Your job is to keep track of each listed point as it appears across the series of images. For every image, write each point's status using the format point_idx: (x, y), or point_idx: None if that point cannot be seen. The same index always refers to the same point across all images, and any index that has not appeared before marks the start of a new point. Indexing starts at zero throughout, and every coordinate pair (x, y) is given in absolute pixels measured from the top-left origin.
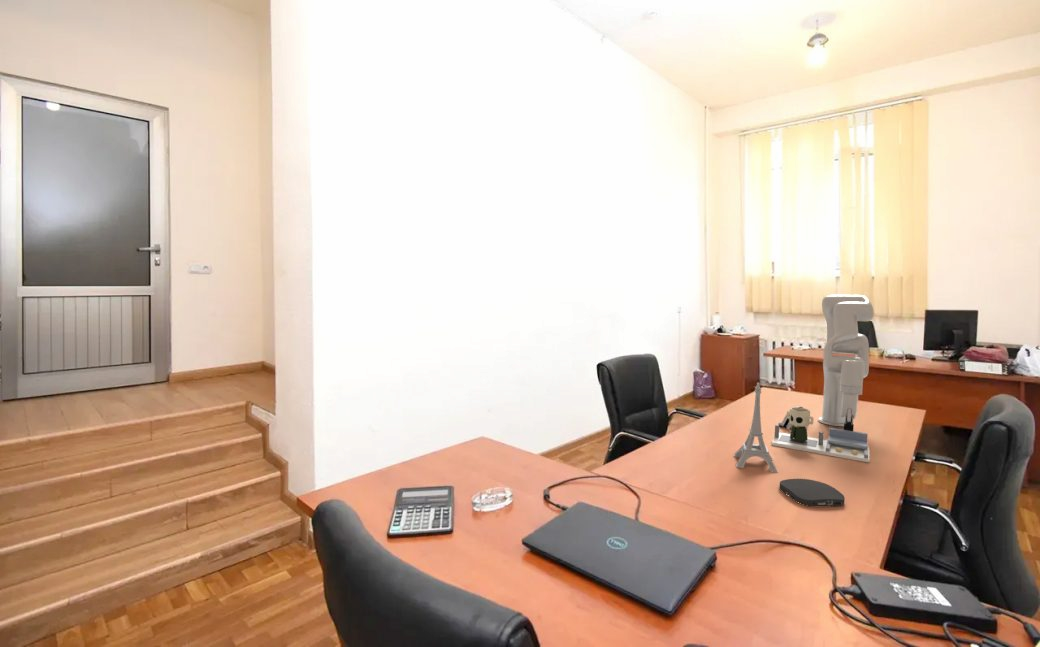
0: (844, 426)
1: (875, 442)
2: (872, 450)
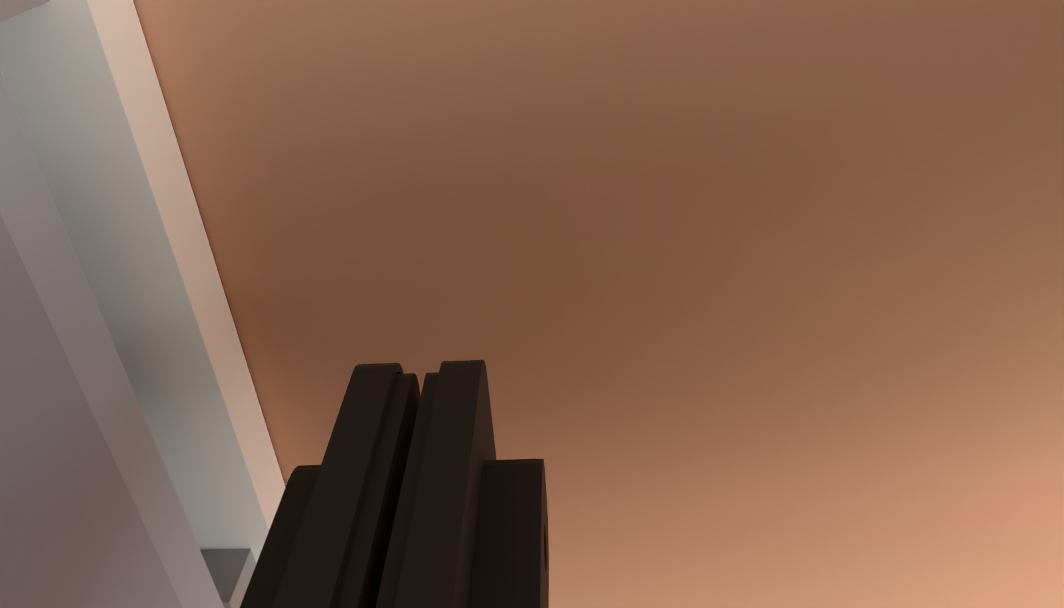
0: (295, 548)
1: (848, 605)
2: None
